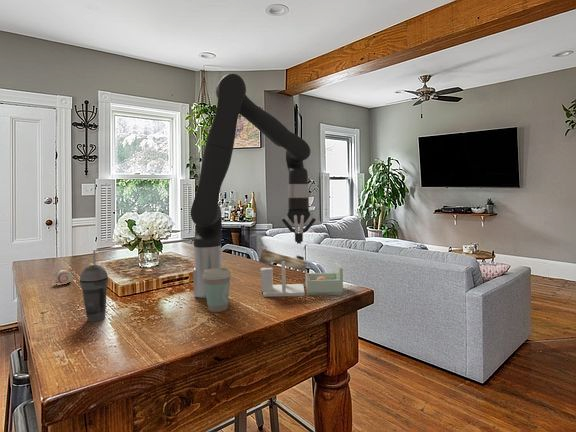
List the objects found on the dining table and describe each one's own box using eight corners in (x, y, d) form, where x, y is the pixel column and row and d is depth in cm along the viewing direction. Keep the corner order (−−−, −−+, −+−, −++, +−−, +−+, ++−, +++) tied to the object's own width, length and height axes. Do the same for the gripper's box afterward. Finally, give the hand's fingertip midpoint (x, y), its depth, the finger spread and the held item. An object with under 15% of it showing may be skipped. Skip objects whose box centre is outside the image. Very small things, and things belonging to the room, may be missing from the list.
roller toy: (53, 284, 147) (52, 270, 147) (71, 282, 152) (70, 268, 151) (55, 286, 144) (55, 272, 144) (74, 283, 148) (73, 269, 148)
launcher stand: (260, 296, 123) (259, 263, 122) (262, 287, 135) (261, 256, 134) (304, 295, 123) (303, 262, 122) (303, 286, 135) (302, 255, 134)
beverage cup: (103, 313, 109) (100, 247, 108) (115, 318, 105) (111, 249, 103) (77, 320, 104) (73, 250, 102) (88, 325, 99) (84, 252, 98)
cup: (307, 295, 123) (307, 269, 122) (305, 286, 135) (305, 262, 134) (343, 294, 123) (342, 268, 122) (338, 285, 135) (337, 261, 134)
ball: (330, 285, 127) (320, 291, 127) (328, 282, 131) (319, 288, 131) (324, 275, 126) (314, 281, 127) (323, 273, 130) (313, 278, 131)
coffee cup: (226, 314, 106) (224, 273, 105) (198, 312, 107) (197, 272, 107) (236, 305, 114) (234, 267, 113) (210, 304, 116) (209, 266, 115)
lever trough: (258, 262, 125) (263, 248, 124) (261, 256, 138) (265, 243, 138) (303, 276, 125) (307, 262, 125) (301, 268, 138) (305, 255, 138)
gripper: (280, 197, 130) (281, 245, 131) (317, 196, 130) (317, 244, 131) (280, 196, 138) (281, 242, 139) (315, 196, 138) (315, 241, 139)
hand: (299, 243), depth 135 cm, fingers closed
